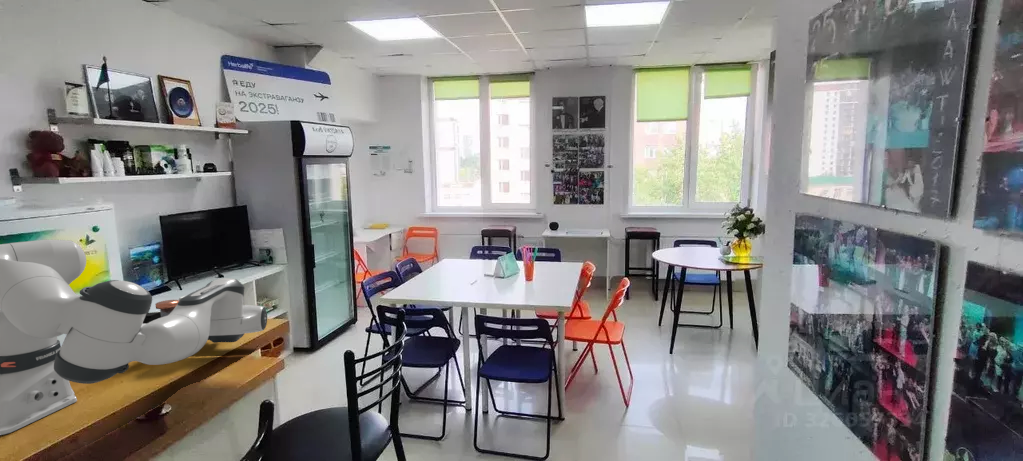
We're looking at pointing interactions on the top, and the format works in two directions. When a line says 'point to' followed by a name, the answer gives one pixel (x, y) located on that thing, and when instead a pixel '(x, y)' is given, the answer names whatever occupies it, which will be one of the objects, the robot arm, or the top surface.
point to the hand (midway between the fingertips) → (166, 321)
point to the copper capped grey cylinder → (166, 306)
